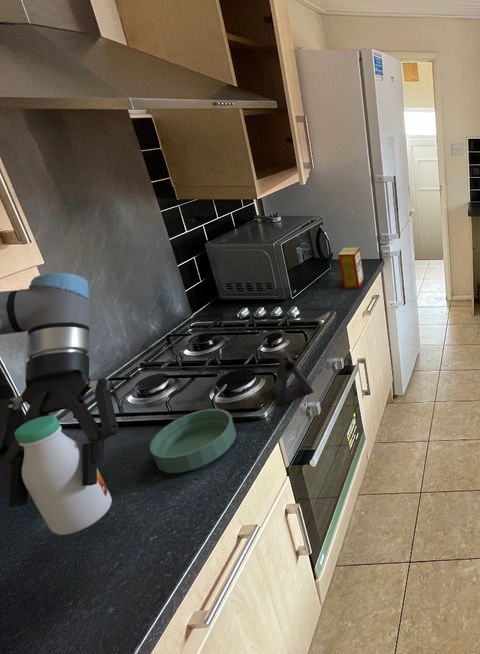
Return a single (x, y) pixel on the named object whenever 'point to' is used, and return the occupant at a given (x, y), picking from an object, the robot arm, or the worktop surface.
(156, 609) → the worktop surface
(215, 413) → the green jar lid
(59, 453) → the milk bottle
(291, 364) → the phone stand
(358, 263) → the baking soda box
